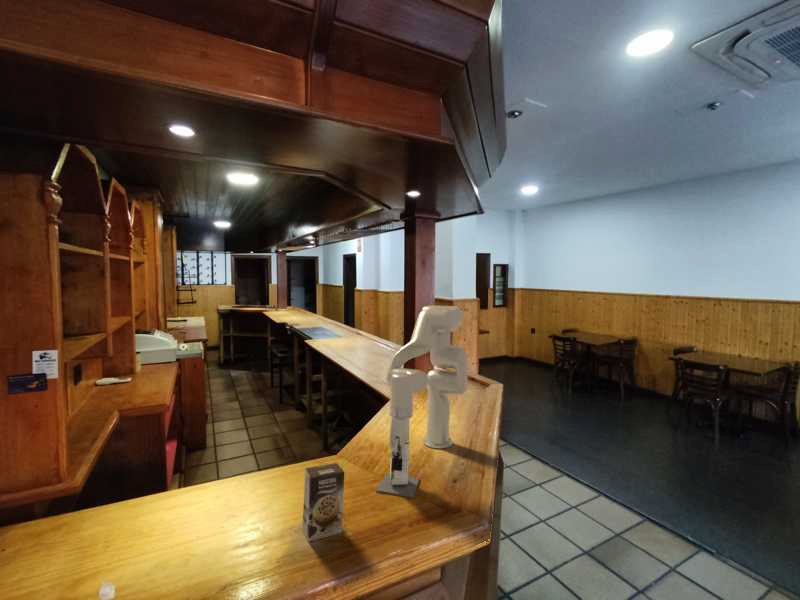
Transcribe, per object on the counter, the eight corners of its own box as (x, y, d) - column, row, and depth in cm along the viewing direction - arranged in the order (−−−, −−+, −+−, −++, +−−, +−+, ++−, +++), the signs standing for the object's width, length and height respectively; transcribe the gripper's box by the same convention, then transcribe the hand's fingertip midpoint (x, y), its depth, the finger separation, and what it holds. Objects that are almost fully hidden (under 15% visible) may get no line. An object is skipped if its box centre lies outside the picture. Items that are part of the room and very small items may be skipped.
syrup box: (389, 476, 127) (390, 433, 127) (407, 476, 127) (408, 433, 127) (390, 485, 121) (391, 440, 121) (408, 484, 121) (410, 440, 121)
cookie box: (307, 542, 94) (310, 478, 94) (301, 528, 99) (304, 467, 99) (343, 533, 98) (345, 471, 98) (335, 520, 103) (337, 461, 103)
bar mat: (385, 475, 131) (385, 473, 131) (419, 479, 128) (419, 478, 128) (376, 492, 119) (376, 490, 119) (413, 497, 117) (413, 495, 117)
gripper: (396, 403, 133) (394, 453, 133) (383, 418, 116) (381, 475, 116) (416, 405, 132) (415, 455, 132) (407, 420, 115) (405, 478, 115)
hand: (399, 464), depth 124 cm, fingers closed on syrup box, 6 cm apart
